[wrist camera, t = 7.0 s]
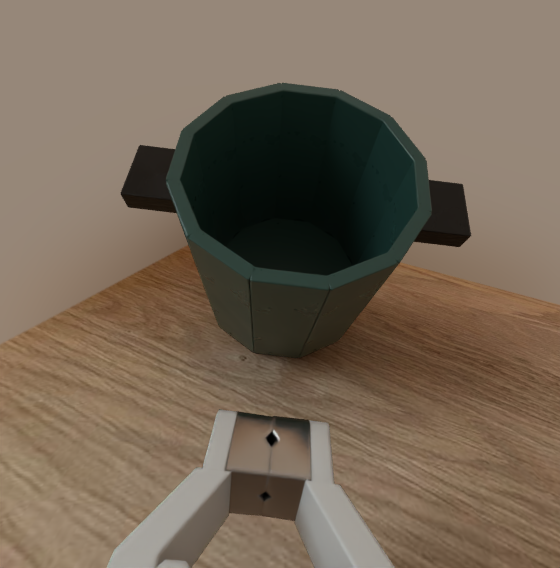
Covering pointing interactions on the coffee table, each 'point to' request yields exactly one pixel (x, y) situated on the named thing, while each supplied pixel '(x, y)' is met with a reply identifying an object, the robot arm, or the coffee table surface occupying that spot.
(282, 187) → the pot
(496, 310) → the coffee table surface
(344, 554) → the robot arm
